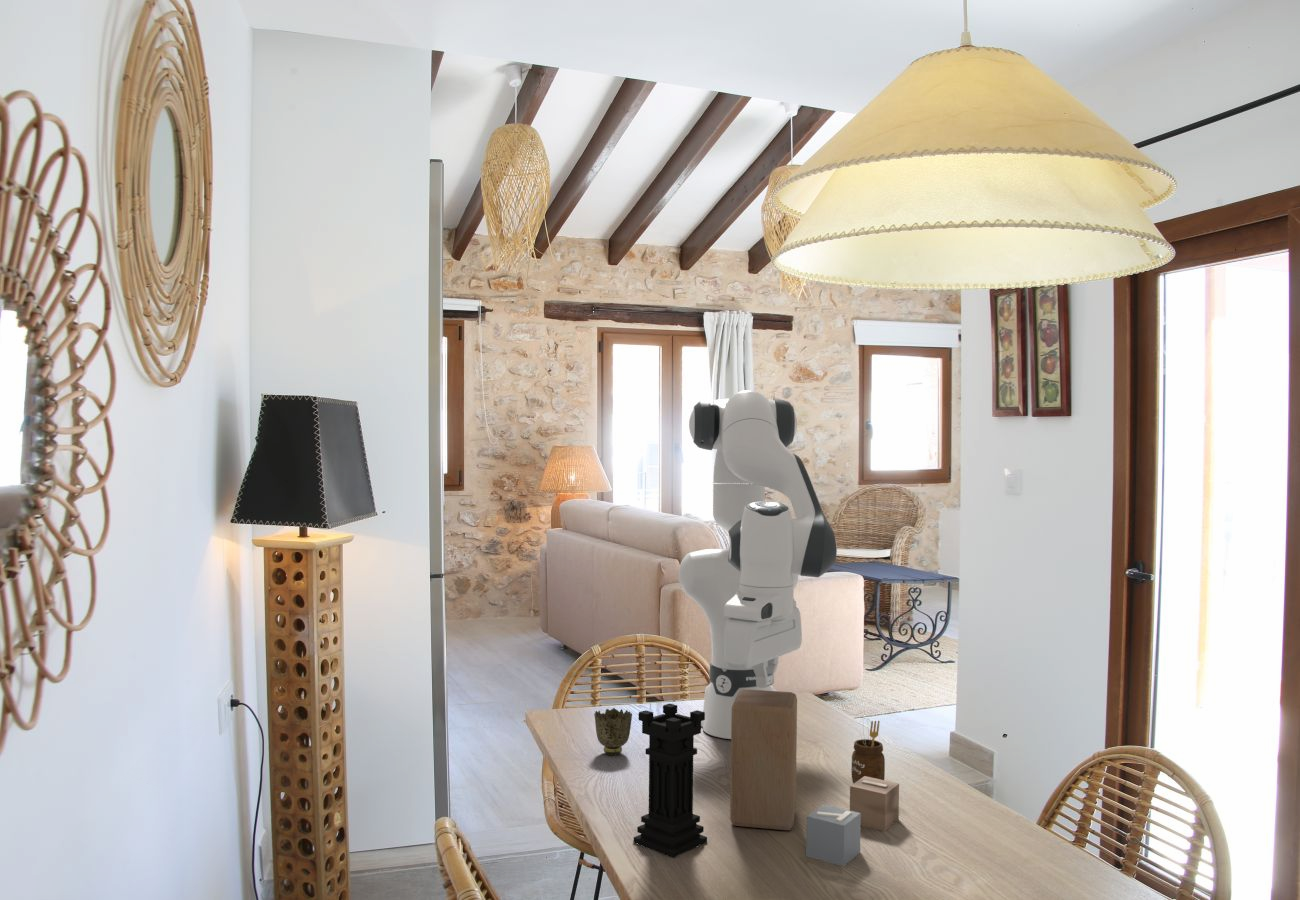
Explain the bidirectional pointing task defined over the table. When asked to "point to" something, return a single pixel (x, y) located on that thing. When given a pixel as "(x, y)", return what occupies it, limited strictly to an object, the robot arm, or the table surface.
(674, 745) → the chess piece
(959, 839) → the table surface
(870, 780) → the walnut numbered cube
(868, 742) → the utensil holder
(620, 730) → the cup
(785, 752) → the block
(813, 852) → the slate numbered cube
